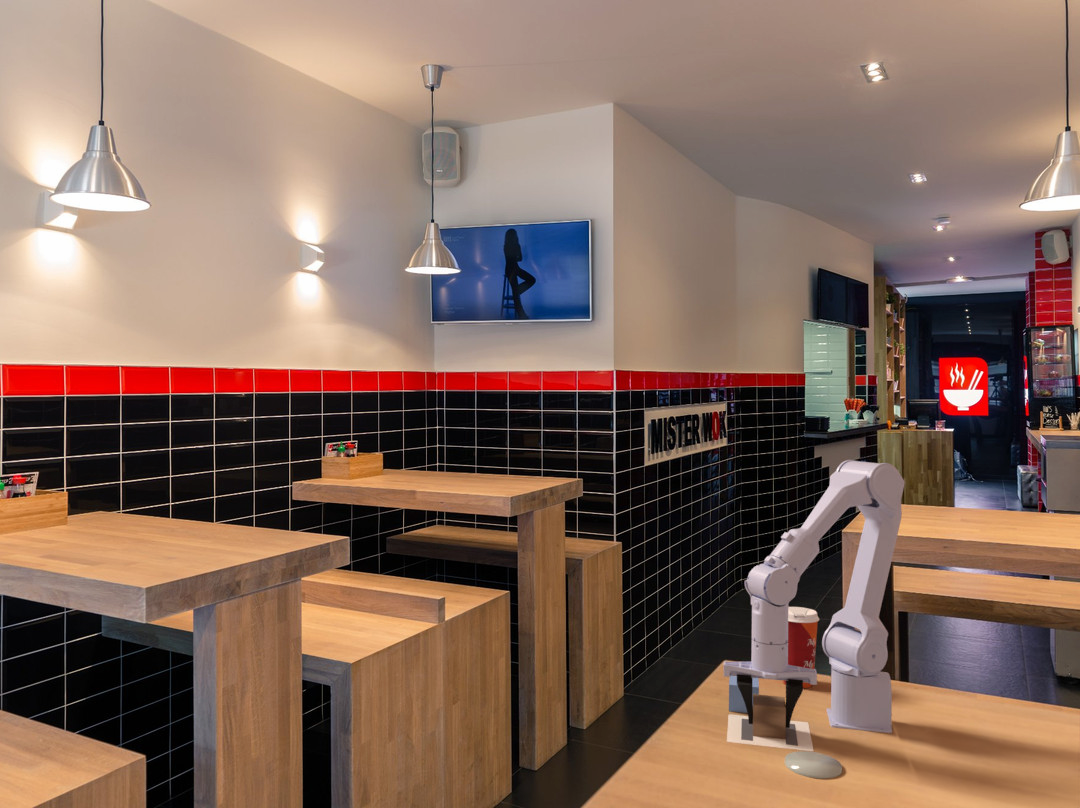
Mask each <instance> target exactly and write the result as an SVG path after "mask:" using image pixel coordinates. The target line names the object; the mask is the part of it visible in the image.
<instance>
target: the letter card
mask: <svg viewBox="0 0 1080 808" xmlns="http://www.w3.org/2000/svg"><path fill="white" fill-rule="evenodd" d="M727 718H728V719H727V730H726V731H727V733H726V742H727V743H733V744H734V743H735V744H742V745H743V744H744V745H751V746H753V745H754V746H761V747H771V748H778V749H779V748H780V749H788V750H797V751H809V752H815V751H814V745H813V741H812V736H811V730H810V726H809V722H808V721H807V722H806V721H799V720H791V721H790V728H786V738H785V739H778V738H769V737H760V736H753V724H749V720H748V715H740V714H732V713H730V714H728V717H727Z"/></svg>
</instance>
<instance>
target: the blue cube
mask: <svg viewBox="0 0 1080 808" xmlns="http://www.w3.org/2000/svg"><path fill="white" fill-rule="evenodd" d="M728 678H729V680H728V682H729V683H728V712H731V713H732V712H734V713H743V714H744V713H745V714H748V713H747V709H746V706H745V702H744V699H743V697H742V694H741V692H740V690H739V688H738V685H737V676H730V677H728ZM759 681H760V678H752V704H753V694H758V695H760V685H759V684H760V683H759Z"/></svg>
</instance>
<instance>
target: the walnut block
mask: <svg viewBox="0 0 1080 808" xmlns="http://www.w3.org/2000/svg"><path fill="white" fill-rule="evenodd" d="M753 736H760V737H769V738H778V739H785V738H786V696H777V695H768V694H767V695H766V694H759V695H758V694H753Z"/></svg>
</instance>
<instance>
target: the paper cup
mask: <svg viewBox="0 0 1080 808" xmlns="http://www.w3.org/2000/svg"><path fill="white" fill-rule="evenodd" d="M819 621H820V618H819V616H818V612H817V611H816V610H815V609H813V608H807V607H803V606H802V607H801V606H788V665H792V666H797V667H802V668H808V669H815V664H816V662H815V661H816V648H817V634H818V622H819ZM782 683H783V684H784V685H785V686H786V681H783V680H782ZM813 686H814V685H812V684H809V683H805V682H803V689H809V688H812V687H813Z"/></svg>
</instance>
